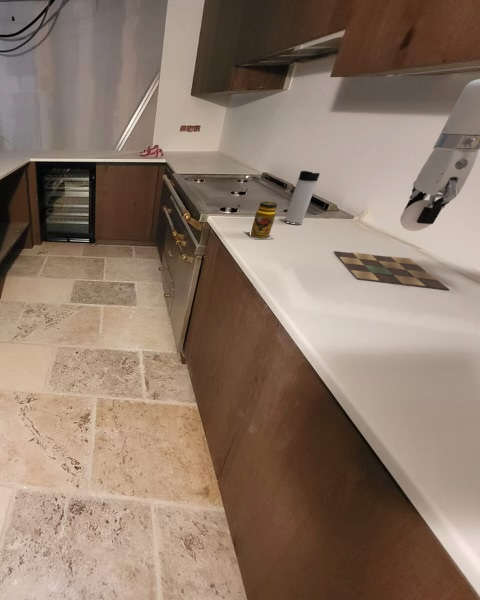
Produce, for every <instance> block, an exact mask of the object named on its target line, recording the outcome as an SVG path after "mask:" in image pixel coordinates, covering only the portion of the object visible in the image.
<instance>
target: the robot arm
mask: <svg viewBox="0 0 480 600" xmlns="http://www.w3.org/2000/svg"><path fill="white" fill-rule="evenodd" d="M432 149H433V150H432V152H431V153H430V155H429V156H428V158H427V159H426V161H425V163H424V164H423V166H422V168H421V169H420V171H419V173H418V175H417V177H416V179H415V180H414V182H413V184H412V190H411V194H410V196H409V200H408V202H407V203H406V206H405V207H404V209H403V211H402V213H403V212H404V211H405V209H406V208H407V207H409V206H410V205H411V204H413V203H415V202H417V201H420V200H426V198H427V197H428V196H429V199H428V200H429V202H428V205H427V207H424V209H423V210H422V212H421V214H420V216H419V218H418V220H417V223H422V224H431V225H433V224H434V223H435V222H436V220H437V218H438V216H439V214H440V213H441V211H442V210H443V209H444V208H445V207H446V206H447V205H448V204H449V203H450V202H451V201H452V200H454V199H456V198H457V196H458V195H459V194H460V192H461V191H462V189H463V187H464V186H465V184H466V181H467V180H468V178H469V176H470V174H471V172H472V169H473V168H474V165H475V163H476V160H477V157H478V155H479V151H480V78H478V79H474V80H471V81H470V82H468V83H467V84H466V85H465V86H464V88H463V89H462V91H461V93H460V95H459V97H458V98H457V101H456V103H455V104H454V106H453V109H452V110H451V112H450V113H449V116H448V118H447V120H446V122H445V124H444V125H443V128H442V130H441V132H440V134H439V136H438V138H437V140H436V141H435V143H434V145H433V148H432Z"/></svg>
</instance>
